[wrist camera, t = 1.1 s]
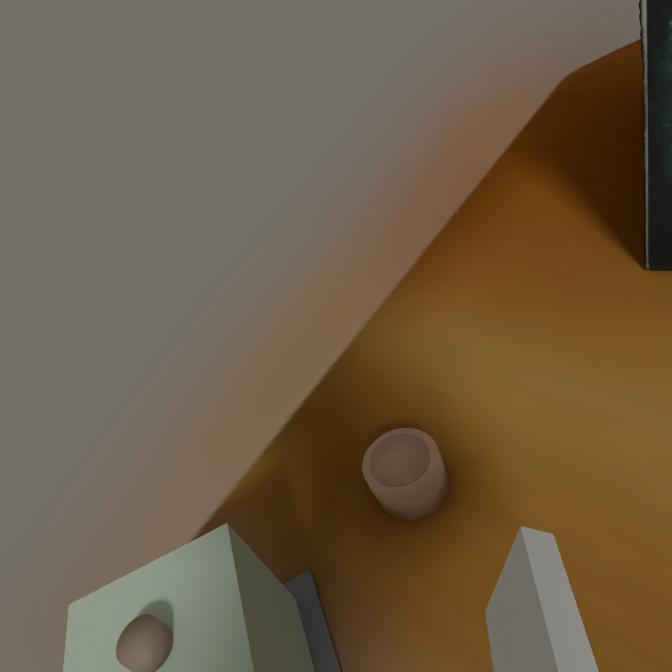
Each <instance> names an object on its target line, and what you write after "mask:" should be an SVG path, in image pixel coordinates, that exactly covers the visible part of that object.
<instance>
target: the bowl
mask: <svg viewBox="0 0 672 672" xmlns="http://www.w3.org/2000/svg"><path fill="white" fill-rule="evenodd" d="M362 472H363V476H364V478H365V480H366V482H367V484H368V485H369V487H370V489H371V491H372V492H373V494H374V496H375V498H376V499H377V501H378V503H379V505H380V507H381V508H382V509H383V511H384V512H385V513H386V514H388V515H389V516H391V517H393V518H395V519H398V520H402V521H415V520H420V519H423V518H425V517H428V516H430V515H431V514H433V513H434V512H435V511H437V510H438V509H439V508H440V507H441V506H442V504H443V503H444V502H445V500H446V498H447V496H448V493H449V490H450V478H449V474H448V472H447V469H446V467H445V464H444V462H443V459H442V457H441V454H440V452H439V449H438V447H437V445H436V443H435V441H434V440H433V438H432V437H431V436H430V435H428V434H427V433H425V432H423V431H421V430H418V429H414V428H399V429H395V430H392V431H389V432H387V433H385V434H383V435H381V436H380V437H379V438H377V439H376V440H375V441H374V442H373V443H372V444H371V445H370V446H369V448H368V449H367V451H366V453H365V455H364V458H363V462H362Z"/></svg>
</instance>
